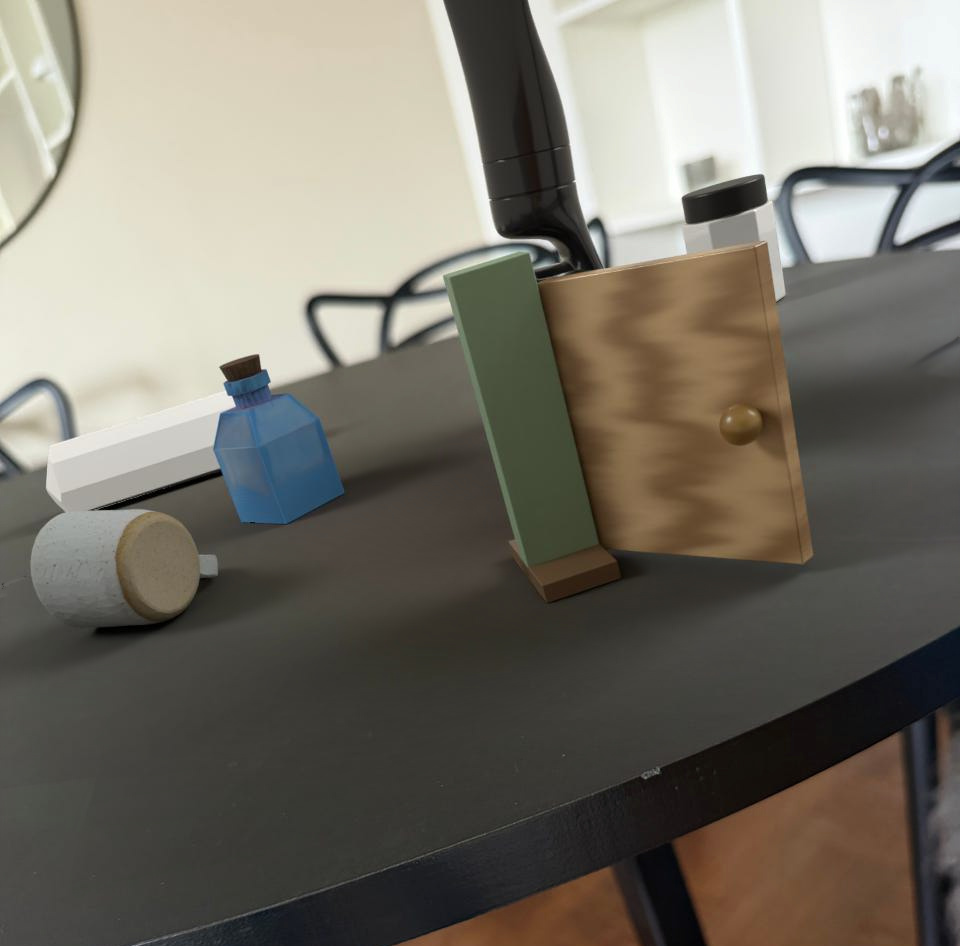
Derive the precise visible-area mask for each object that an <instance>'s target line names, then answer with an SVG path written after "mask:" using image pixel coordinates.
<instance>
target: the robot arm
mask: <svg viewBox="0 0 960 946" xmlns="http://www.w3.org/2000/svg"><path fill="white" fill-rule="evenodd" d="M442 2H443V5H444V9H445V12H446V16H447V19H448V22H449V26H450V29H451V33H452V36H453V39H454V42H455V43H454V44H455V47H456V50H457V54H458V58H459V62H460V64H461V69H462V73H463V77H464V81H465V85H466V91H467V94H468V99H469V102H470V109H471V113H472V117H473V122H474V128H475V133H476V138H477V143H478V148H479V154H480V160H481V164H482V166H481V167H482V170H483V177H484V183H485V187H486V192H487V197H488V198H487V199H488V200H489V201H488V203H489V204H488V205H489V208H490V209H489V210H490V215H491V219H492V223H493V226H494V229H495V231H496V232H497V234H498V235H499V236H500V237H502V238H504V239H507V240H521V241H522V240H542V241H548V242H549V243H551V244H552V246H553V247H554V249H555V250H556V251H557V252H558V255H559V258H560V262H557V263H553V264H548V265H543V266H540V267H536V268H533V269H534V273H535V277H536V281H537V283H539V282H541V281H543V280H546V279H548V278H554V277H560V276H565V275H571V274H577V273H582V272H588V271H594V270H600V269H605V266H604V264H603V262H602V259H601V256H600V255H599V253H598V249H597V248H596V246H595V243H594V241H593V238H592V236H591V233H590V230H589V227H588V225H587V222H586V218H585V216H584V212H583V209H582V205H581V202H580V197H579V193H578V187H577V182H576V180H577V179H576V173H575V166H574V161H573V160H574V159H573V153H572V147H571V140H570V133H569V128H568V124H567V117H566V113H565V109H564V105H563V101H562V98H561V94H560V91H559V88H558V85H557V82H556V79H555V77H554V73H553V70H552V67H551V64H550V62H549V59H548V57H547V54H546V51H545V49H544V46H543V43H542V39H541V38H540V35H539V32H538V29H537V26H536V23H535V20H534V17H533V14H532V10H531V7H530V3H529V0H442Z"/></svg>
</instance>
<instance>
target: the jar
mask: <svg viewBox="0 0 960 946" xmlns="http://www.w3.org/2000/svg"><path fill="white" fill-rule="evenodd" d="M681 204H682V210H683V215H684V221H685V223H684V224H682V226H681V229H682V235H683V241H684V246H685V251H686V254H691V253H697V252H702V251H708V250H714V249H720V248H725V247H731V246H737V245H742V244H748V243H754V242H760V241H767V243H768V250H769V257H770V263H771V270H772V277H773V284H774V291H775V298H776V303H778V302H779V301H780V300H781V299H783V298H784V297H786V285H785V281H784V280H785V279H784V271H783V266H782V265H783V264H782V259H781V252H780V246H779V245H780V244H779V238H778V230H777V224H776V217H775V210H774V203H773V201H772V200H769V199H768V190H767V184H766V177H765V175H764V174H762V173H756V174H751V175H747V176H742V177H738V178H734V179H729V180H725V181H722V182H719V183H715V184H712V185H709V186H706V187H703V188H699V189H697V190H694V191H691V192H688V193H686V194H683V196H682V197H681Z"/></svg>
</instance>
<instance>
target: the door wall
mask: <svg viewBox="0 0 960 946" xmlns="http://www.w3.org/2000/svg"><path fill="white" fill-rule="evenodd" d="M534 269H535V268H534V265H533V260H532V256H531V254H530V252H529V251H516V252H513V253H510V254H507V255H503V256H500V257H497V258H493V259H490V260H488V261H484V262H481V263H478V264H474V265H471V266H467V267H465V268H461V269H458V270H454V271H452V272H448V273H445V274H443V275H442V278H443V279H442V280H443V282H444V286H445V289H446V293H447V297H448V300H449V304H450V307H451V311H452V315H453V319H454V322H455V326H456V329H457V333H458V337H459V341H460V344H461V348H462V351H463V356H464V358H465V363H466V366H467V370H468V373H469V374H468V375H469V377H470V380H471V384H472V388H473V392H474V396H475V399H476V402H477V406H478V409H479V414H480V417H481V421H482V424H483V428H484V431H485V435H486V438H487V442H488V447H489V449H490V454H491V457H492V460H493V464H494V468H495V471H496V475H497V479H498V481H499V482H498V483H499V487H500V490H501V493H502V497H503V501H504V505H505V508H506V512H507V515H508V518H509V522H510V526H511V529H512V533H513V537H514V539H510V540H508V542H507V543H508V547H509V550H510V554H511V557H512V559H513V560H514V561H515V563H516V564H517V565H518V566H519V567H520V569H521V571H522V572H523V573H524V575H525V576H526V577H527V579H528V580H529V581H530V583H531V584H532V585H533V586H534V588H535V589H536V590H537V592H538V593H539V595H540V596H541V597H542V599H543V600H544V601H545V602H546V603H547V604H549V603H552V602H555V601H557V600H561V599H564V598H566V597H569V596H573V595H575V594H579V593H581V592H584V591H587V590H590V589H594V588H596V587H599V586H602V585H605V584H609V583H611V582H614V581H617V580H620V579H621V578H622V576H621V572H620V568H619V564H618V560H617V559H616V558H615V557H613V555H612V554H610V553H609V551H608V550H607V549H604V548H603V547H602V546H601V545H600V544H599V541H598V537H597V533H596V528H595V524H594V520H593V516H592V512H591V507H590V503H589V499H588V495H587V491H586V486H585V482H584V478H583V474H582V470H581V466H580V461H579V457H578V453H577V449H576V445H575V440H574V436H573V432H572V428H571V424H570V420H569V415H568V411H567V407H566V403H565V399H564V394H563V390H562V386H561V382H560V378H559V374H558V369H557V365H556V361H555V357H554V353H553V348H552V344H551V340H550V336H549V332H548V327H547V323H546V319H545V315H544V311H543V307H542V302H541V298H540V294H539V290H538V286H537V281H536V277H535V273H534Z"/></svg>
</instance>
